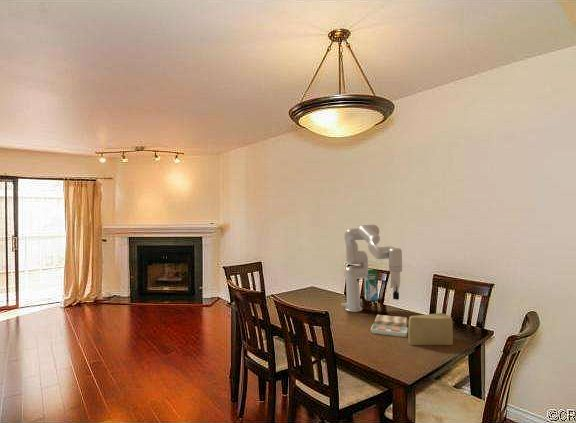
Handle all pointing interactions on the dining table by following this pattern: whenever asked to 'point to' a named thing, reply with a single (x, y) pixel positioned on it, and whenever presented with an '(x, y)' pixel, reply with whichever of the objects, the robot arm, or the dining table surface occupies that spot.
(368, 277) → the milk carton
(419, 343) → the tan rounded block
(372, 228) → the robot arm
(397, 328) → the tile
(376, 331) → the tray
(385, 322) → the white food package
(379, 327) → the tile
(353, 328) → the dining table surface
